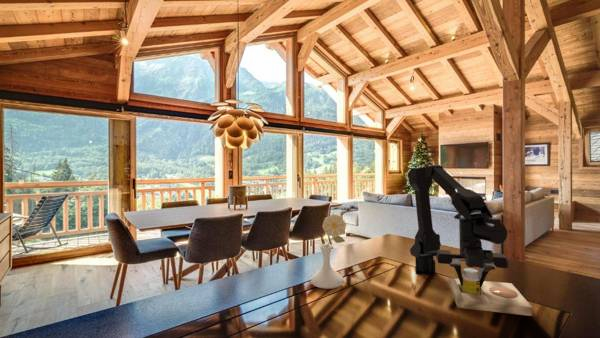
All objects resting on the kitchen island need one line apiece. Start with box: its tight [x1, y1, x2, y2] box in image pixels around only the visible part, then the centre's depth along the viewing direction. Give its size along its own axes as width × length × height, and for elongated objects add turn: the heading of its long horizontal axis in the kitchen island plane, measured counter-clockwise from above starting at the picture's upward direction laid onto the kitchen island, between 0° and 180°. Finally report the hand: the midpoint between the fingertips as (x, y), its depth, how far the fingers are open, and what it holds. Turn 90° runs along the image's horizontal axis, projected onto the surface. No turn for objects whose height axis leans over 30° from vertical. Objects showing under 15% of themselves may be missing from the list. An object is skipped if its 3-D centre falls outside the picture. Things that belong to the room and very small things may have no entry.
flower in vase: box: [310, 213, 347, 290], centre depth 104 cm, size 13×11×25 cm
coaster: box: [489, 287, 518, 298], centre depth 90 cm, size 7×7×1 cm
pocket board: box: [448, 277, 533, 317], centre depth 91 cm, size 18×16×2 cm
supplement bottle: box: [461, 267, 481, 295], centre depth 92 cm, size 5×5×8 cm
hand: (470, 286), depth 93 cm, fingers closed on supplement bottle, 5 cm apart
